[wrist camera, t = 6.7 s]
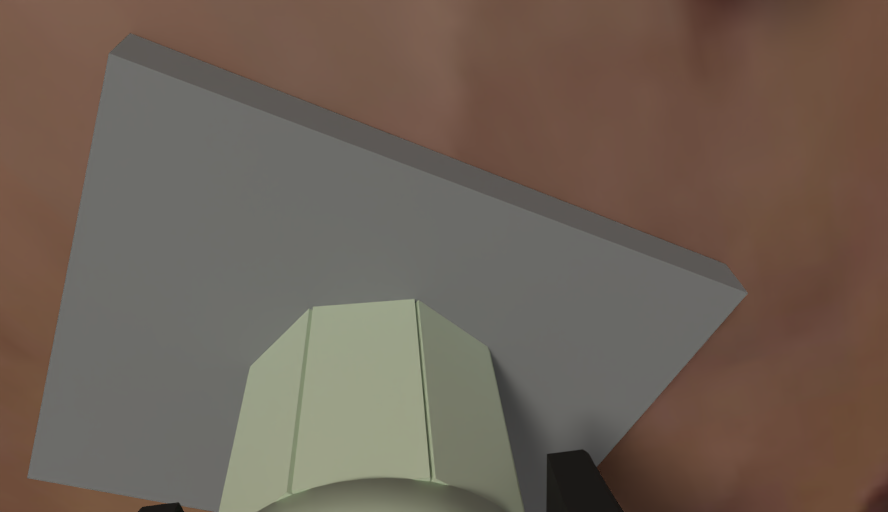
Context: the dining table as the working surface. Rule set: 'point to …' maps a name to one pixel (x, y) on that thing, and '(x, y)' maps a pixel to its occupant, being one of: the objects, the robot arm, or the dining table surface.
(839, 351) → the dining table surface
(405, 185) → the mat
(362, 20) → the dining table surface
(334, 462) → the cap
